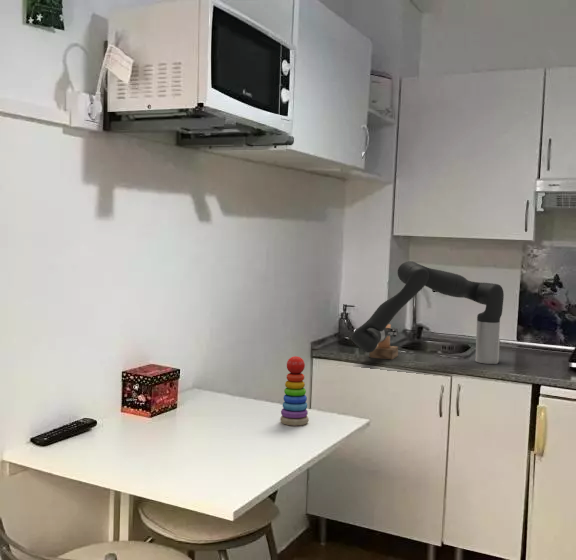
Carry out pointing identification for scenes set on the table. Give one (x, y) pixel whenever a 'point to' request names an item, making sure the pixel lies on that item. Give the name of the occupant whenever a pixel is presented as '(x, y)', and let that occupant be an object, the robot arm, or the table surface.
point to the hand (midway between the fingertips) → (385, 329)
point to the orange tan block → (387, 341)
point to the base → (384, 352)
